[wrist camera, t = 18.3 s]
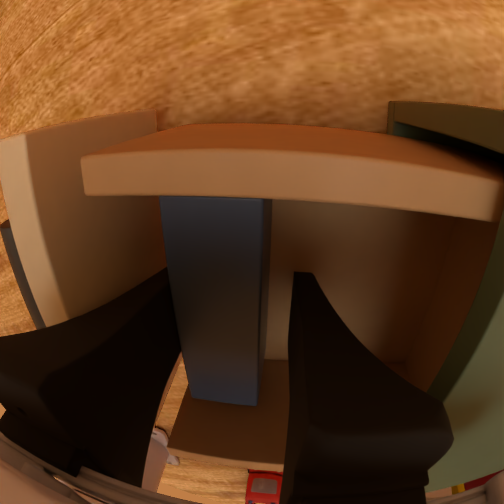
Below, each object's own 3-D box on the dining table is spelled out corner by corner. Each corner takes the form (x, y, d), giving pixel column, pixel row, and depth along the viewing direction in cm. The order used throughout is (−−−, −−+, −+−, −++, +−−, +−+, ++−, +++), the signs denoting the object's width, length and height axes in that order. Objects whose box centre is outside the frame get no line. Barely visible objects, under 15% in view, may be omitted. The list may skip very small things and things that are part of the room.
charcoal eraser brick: (210, 341, 14) (190, 398, 11) (197, 165, 10) (157, 194, 7) (266, 347, 14) (257, 407, 11) (273, 167, 10) (264, 197, 7)
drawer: (99, 336, 17) (45, 419, 11) (51, 125, 11) (-68, 166, 5) (404, 366, 15) (429, 471, 9) (470, 133, 9) (596, 183, 3)
